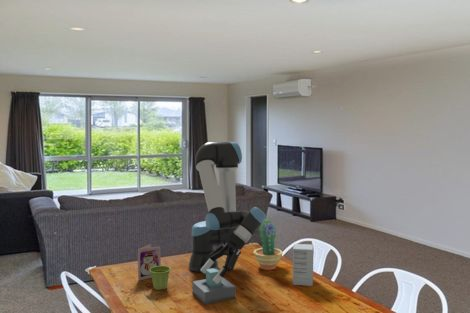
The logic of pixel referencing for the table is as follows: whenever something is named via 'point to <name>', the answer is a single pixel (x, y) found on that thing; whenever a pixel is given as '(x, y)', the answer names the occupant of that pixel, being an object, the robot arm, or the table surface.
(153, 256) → the greeting card
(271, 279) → the table surface
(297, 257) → the supplement box
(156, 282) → the plant pot
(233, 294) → the socket
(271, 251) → the potted cactus
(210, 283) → the peg
